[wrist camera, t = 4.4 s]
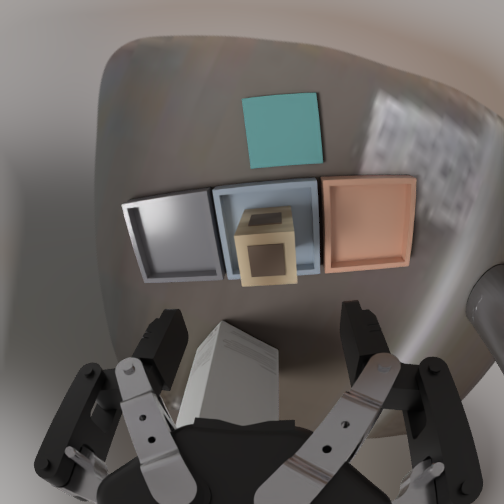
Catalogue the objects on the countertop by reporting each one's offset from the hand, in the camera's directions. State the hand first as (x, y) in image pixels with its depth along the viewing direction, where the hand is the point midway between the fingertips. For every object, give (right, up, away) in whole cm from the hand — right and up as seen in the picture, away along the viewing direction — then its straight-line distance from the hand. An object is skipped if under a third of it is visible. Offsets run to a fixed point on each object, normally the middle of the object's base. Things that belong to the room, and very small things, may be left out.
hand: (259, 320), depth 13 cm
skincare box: (-2, -8, +19) cm, 21 cm away
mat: (+2, +13, +8) cm, 16 cm away
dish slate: (+1, +6, +12) cm, 13 cm away
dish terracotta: (+10, +6, +10) cm, 16 cm away
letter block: (+1, +5, +11) cm, 13 cm away
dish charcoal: (-8, +5, +13) cm, 16 cm away
